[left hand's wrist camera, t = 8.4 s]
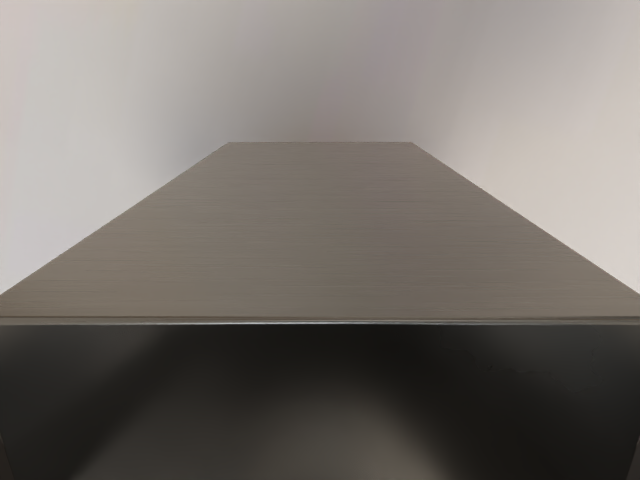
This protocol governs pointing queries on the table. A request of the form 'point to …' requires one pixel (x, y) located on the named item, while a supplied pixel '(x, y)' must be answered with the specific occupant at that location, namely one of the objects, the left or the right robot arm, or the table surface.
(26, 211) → the table surface
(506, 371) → the box
